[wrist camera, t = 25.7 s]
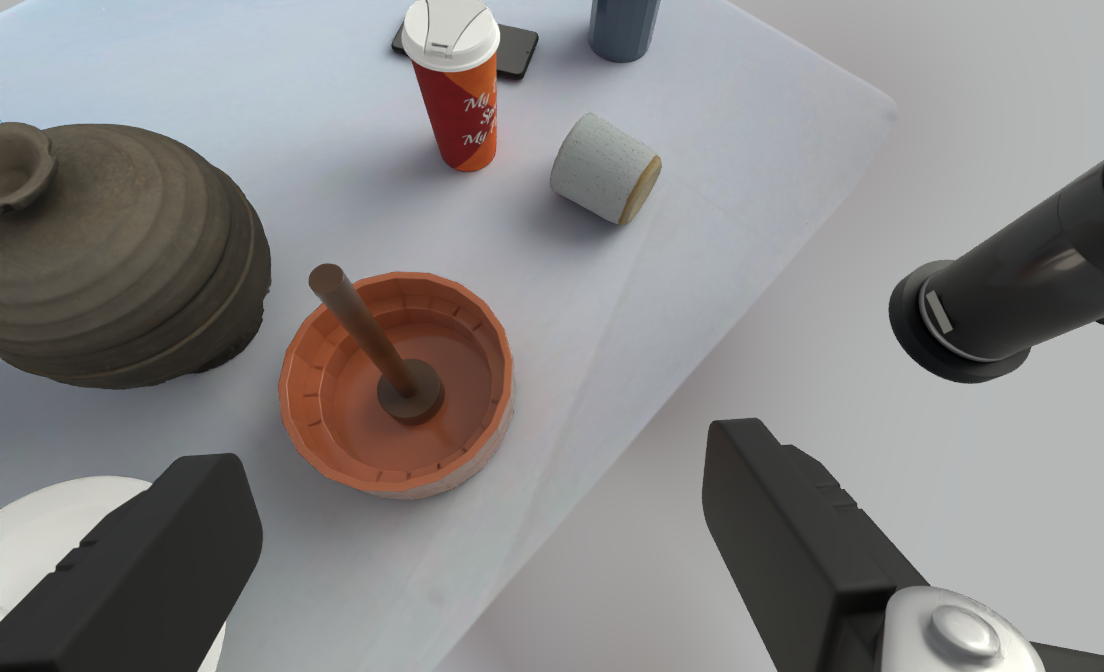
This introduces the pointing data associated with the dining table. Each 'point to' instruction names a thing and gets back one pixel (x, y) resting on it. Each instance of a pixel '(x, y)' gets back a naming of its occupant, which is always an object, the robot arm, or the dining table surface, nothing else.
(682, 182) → the dining table surface
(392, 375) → the brown wooden plunger
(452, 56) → the paper cup
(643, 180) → the ceramic mug
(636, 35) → the crock
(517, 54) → the smartphone
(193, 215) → the pot
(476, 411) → the mixing bowl
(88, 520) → the candlestick
